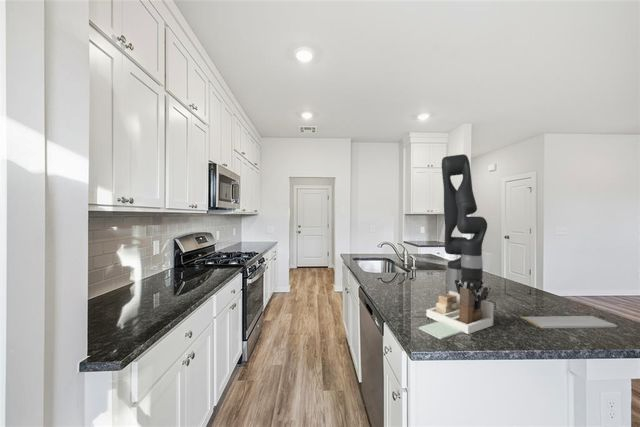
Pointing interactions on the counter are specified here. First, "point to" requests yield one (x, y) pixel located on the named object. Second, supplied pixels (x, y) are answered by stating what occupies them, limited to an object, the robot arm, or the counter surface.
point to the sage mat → (440, 330)
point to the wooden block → (468, 307)
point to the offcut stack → (446, 304)
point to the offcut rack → (453, 317)
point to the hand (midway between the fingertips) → (471, 307)
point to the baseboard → (569, 322)
